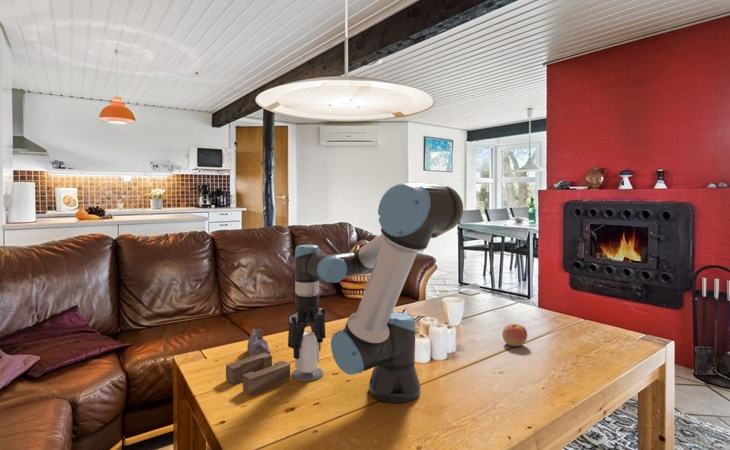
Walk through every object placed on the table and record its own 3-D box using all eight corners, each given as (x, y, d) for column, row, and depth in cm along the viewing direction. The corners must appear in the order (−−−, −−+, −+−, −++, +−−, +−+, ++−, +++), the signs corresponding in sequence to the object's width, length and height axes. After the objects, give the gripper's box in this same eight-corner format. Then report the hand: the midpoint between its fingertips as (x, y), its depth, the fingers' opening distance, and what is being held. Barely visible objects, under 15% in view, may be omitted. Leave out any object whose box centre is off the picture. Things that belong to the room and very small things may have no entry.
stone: (269, 334, 136) (261, 321, 150) (251, 338, 134) (244, 324, 147) (271, 364, 138) (263, 347, 151) (253, 368, 135) (246, 351, 149)
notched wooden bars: (290, 379, 125) (290, 364, 125) (250, 395, 115) (250, 379, 115) (264, 366, 135) (264, 352, 134) (226, 380, 124) (225, 364, 124)
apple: (531, 347, 154) (532, 327, 153) (512, 350, 151) (513, 329, 150) (515, 339, 162) (515, 320, 161) (497, 342, 159) (497, 322, 158)
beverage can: (319, 367, 131) (319, 331, 130) (312, 375, 125) (312, 337, 124) (302, 365, 133) (302, 329, 132) (294, 373, 127) (293, 336, 126)
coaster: (329, 374, 129) (329, 372, 129) (305, 384, 122) (305, 383, 122) (309, 365, 136) (309, 363, 136) (285, 374, 129) (285, 373, 129)
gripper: (322, 286, 137) (322, 352, 138) (274, 297, 123) (275, 370, 124) (337, 290, 132) (337, 359, 133) (289, 301, 118) (290, 377, 119)
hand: (307, 364), depth 129 cm, fingers closed on beverage can, 6 cm apart
